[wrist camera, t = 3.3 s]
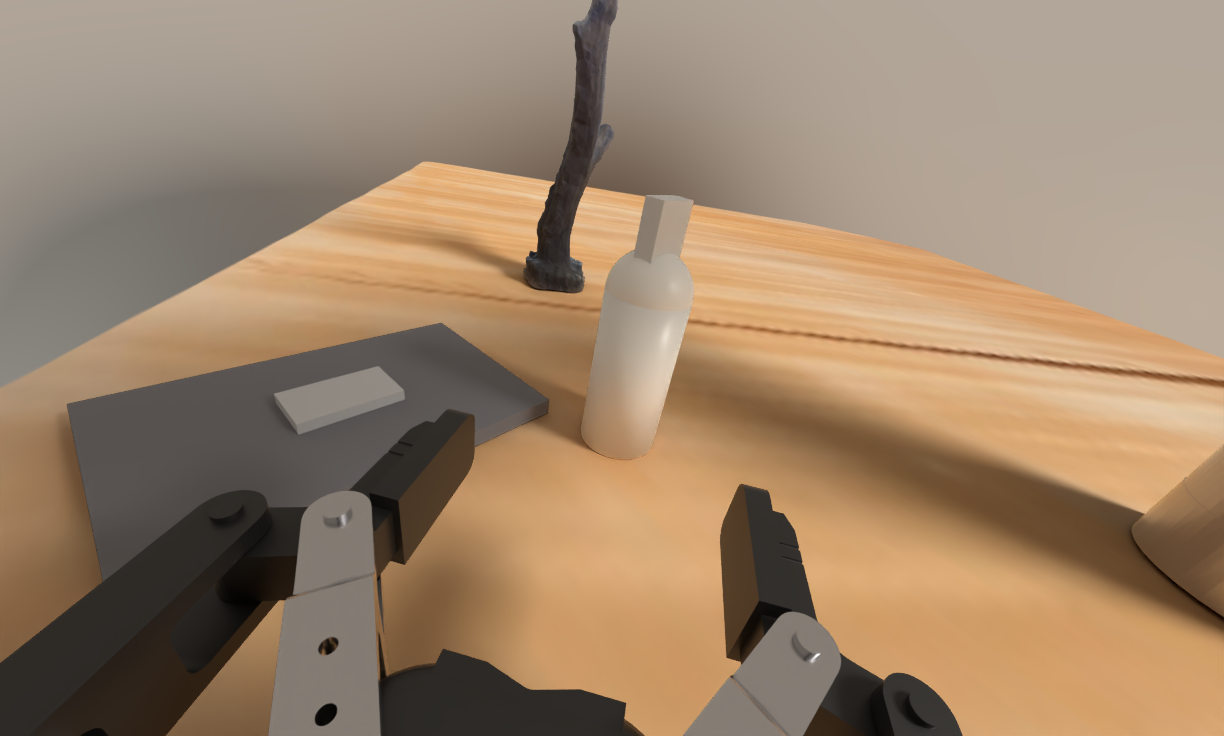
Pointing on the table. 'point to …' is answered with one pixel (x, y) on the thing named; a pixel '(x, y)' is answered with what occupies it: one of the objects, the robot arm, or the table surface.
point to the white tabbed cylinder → (639, 334)
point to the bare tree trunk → (575, 157)
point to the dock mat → (277, 429)
